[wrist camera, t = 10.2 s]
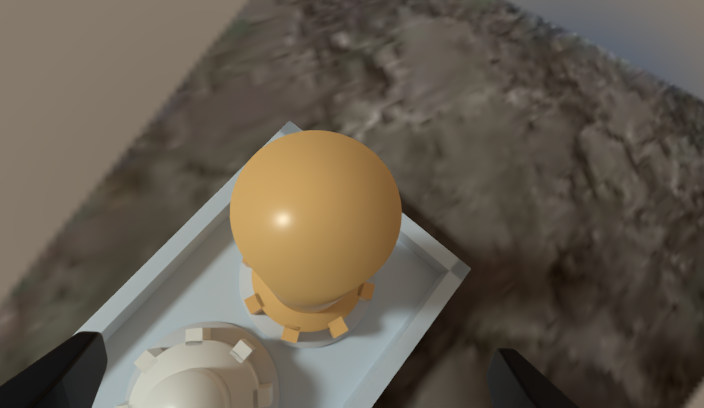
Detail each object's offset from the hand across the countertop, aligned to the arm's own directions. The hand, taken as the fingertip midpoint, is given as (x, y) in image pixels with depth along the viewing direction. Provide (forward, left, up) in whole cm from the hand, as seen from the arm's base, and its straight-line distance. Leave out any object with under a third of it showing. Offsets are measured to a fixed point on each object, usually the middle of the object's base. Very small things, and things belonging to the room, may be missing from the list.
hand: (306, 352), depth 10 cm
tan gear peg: (+2, +2, -11) cm, 12 cm away
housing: (-1, +2, -12) cm, 13 cm away
